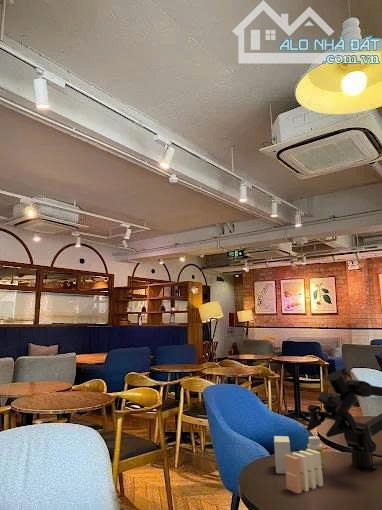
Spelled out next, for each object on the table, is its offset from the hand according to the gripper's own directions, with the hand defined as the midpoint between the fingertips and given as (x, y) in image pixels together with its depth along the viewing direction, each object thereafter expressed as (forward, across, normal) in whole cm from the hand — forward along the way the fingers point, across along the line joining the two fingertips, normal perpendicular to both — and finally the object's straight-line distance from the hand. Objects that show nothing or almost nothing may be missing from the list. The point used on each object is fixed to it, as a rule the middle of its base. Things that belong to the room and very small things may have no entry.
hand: (317, 433), depth 132 cm
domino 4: (+11, +2, +10) cm, 15 cm away
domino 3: (+14, +2, +8) cm, 17 cm away
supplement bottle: (+1, -10, +16) cm, 19 cm away
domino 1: (+20, +3, +5) cm, 21 cm away
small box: (+12, -13, +10) cm, 20 cm away
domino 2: (+17, +3, +7) cm, 19 cm away
